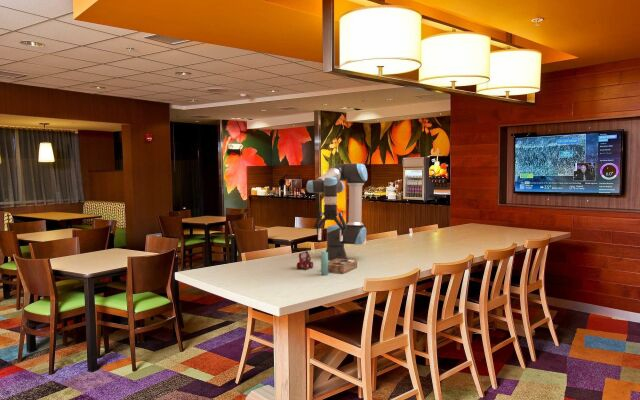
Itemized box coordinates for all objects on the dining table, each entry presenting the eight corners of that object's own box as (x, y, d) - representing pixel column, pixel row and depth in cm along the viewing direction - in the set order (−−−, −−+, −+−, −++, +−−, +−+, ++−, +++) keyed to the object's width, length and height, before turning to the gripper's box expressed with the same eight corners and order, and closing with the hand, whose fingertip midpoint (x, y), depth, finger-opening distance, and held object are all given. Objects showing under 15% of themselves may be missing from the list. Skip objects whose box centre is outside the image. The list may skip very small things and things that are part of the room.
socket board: (322, 271, 286) (322, 263, 286) (336, 265, 304) (336, 257, 304) (343, 273, 280) (343, 265, 280) (357, 267, 298) (357, 259, 297)
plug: (319, 275, 277) (319, 252, 276) (323, 273, 281) (322, 251, 280) (326, 275, 275) (326, 253, 274) (329, 274, 279) (329, 252, 278)
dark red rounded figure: (315, 267, 300) (315, 250, 299) (304, 270, 289) (304, 253, 289) (305, 266, 303) (305, 249, 303) (295, 269, 293) (295, 252, 292)
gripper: (308, 203, 279) (308, 240, 280) (348, 204, 269) (348, 242, 270) (313, 203, 286) (313, 238, 287) (352, 204, 276) (352, 240, 277)
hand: (330, 240), depth 279 cm, fingers open, 13 cm apart
